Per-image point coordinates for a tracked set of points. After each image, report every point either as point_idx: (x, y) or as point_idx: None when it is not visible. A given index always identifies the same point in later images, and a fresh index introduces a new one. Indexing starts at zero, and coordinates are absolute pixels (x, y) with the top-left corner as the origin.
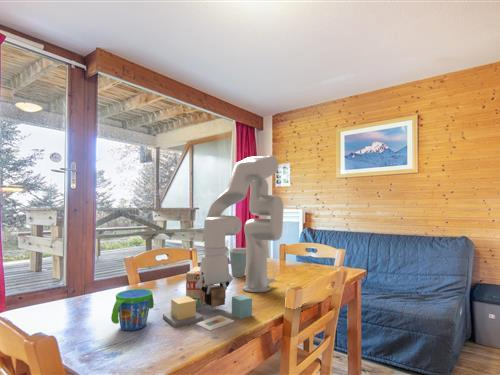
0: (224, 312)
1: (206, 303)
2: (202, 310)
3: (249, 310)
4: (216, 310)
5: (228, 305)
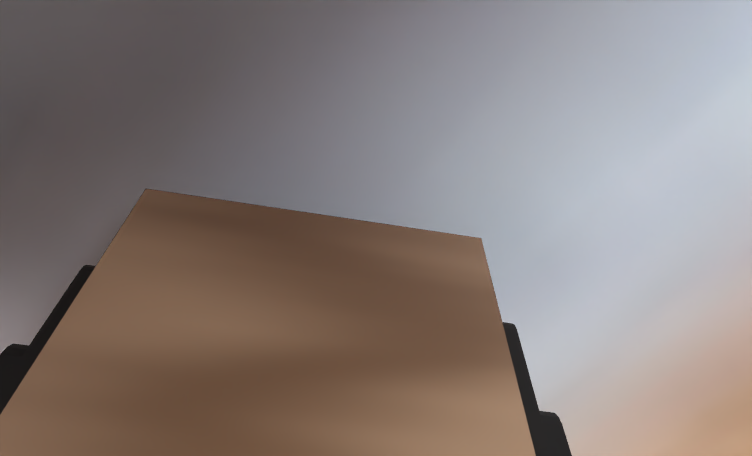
0: None
1: None
2: (97, 128)
3: None
4: None
5: (663, 241)
